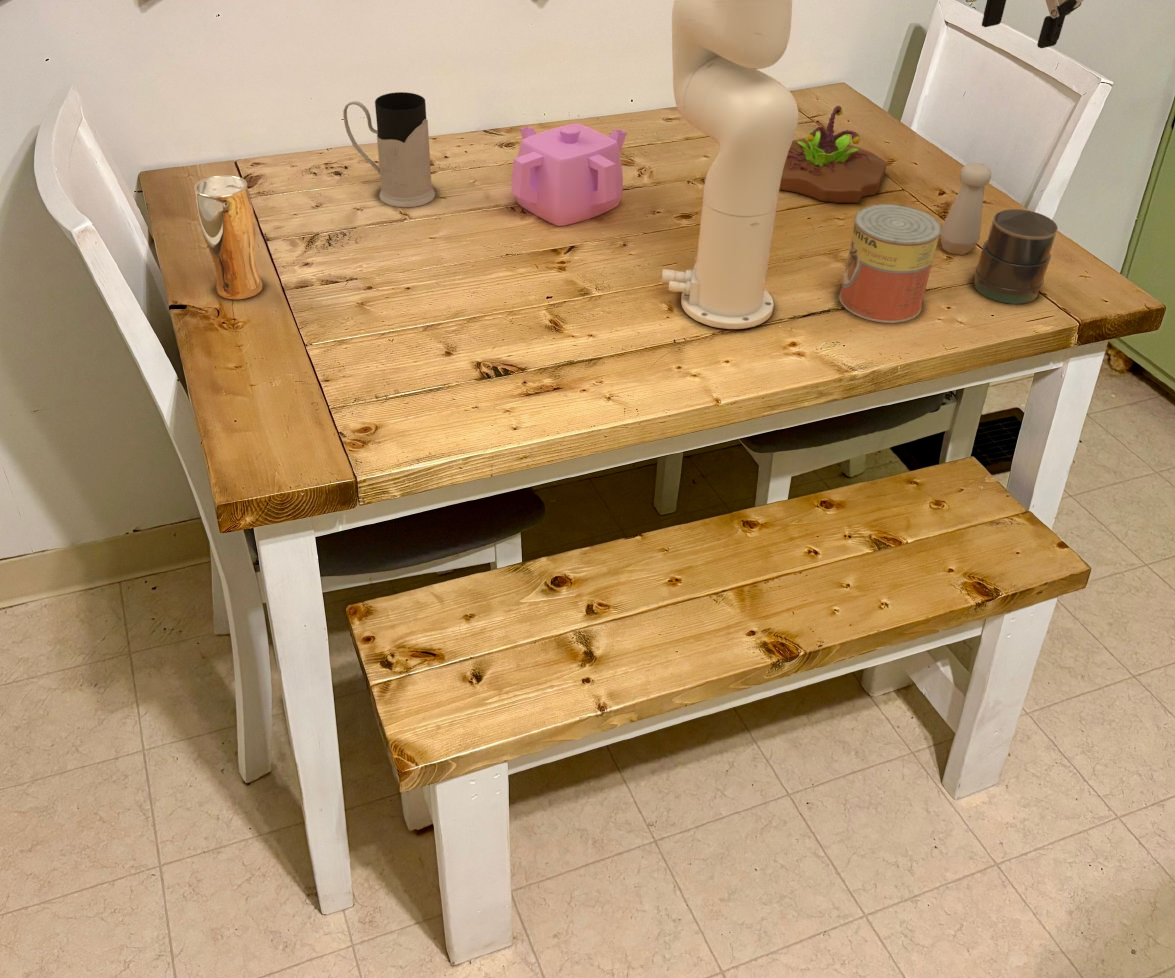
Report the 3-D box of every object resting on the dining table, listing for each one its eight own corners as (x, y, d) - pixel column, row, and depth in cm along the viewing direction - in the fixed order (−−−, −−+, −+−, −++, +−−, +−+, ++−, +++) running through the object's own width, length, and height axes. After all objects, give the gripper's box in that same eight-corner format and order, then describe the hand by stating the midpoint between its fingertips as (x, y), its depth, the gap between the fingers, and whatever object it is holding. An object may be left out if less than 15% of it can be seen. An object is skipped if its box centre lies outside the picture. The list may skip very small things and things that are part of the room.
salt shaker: (976, 259, 167) (999, 177, 159) (937, 255, 168) (958, 172, 160) (974, 242, 172) (996, 160, 163) (936, 237, 172) (956, 156, 164)
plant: (900, 171, 191) (915, 106, 184) (857, 212, 178) (870, 144, 171) (793, 142, 199) (803, 79, 192) (744, 180, 186) (752, 113, 179)
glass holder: (420, 211, 174) (413, 115, 164) (338, 195, 177) (327, 101, 167) (444, 188, 180) (439, 95, 171) (364, 174, 183) (355, 82, 174)
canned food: (834, 280, 161) (849, 202, 153) (912, 283, 161) (931, 205, 153) (845, 321, 152) (861, 240, 145) (928, 324, 152) (949, 244, 145)
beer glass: (239, 306, 150) (219, 202, 140) (202, 291, 153) (180, 187, 143) (276, 285, 155) (260, 182, 145) (240, 271, 157) (221, 169, 148)
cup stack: (975, 301, 158) (994, 234, 151) (968, 269, 165) (986, 204, 158) (1044, 308, 157) (1066, 242, 150) (1034, 276, 164) (1055, 211, 157)
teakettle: (509, 225, 171) (508, 147, 163) (520, 178, 184) (519, 103, 176) (621, 231, 171) (625, 153, 163) (623, 183, 184) (628, 109, 176)
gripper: (982, -115, 146) (951, 21, 157) (1091, -85, 135) (1050, 59, 146) (1021, -120, 149) (988, 13, 160) (1131, -92, 138) (1087, 50, 149)
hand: (1017, 35), depth 153 cm, fingers open, 9 cm apart
